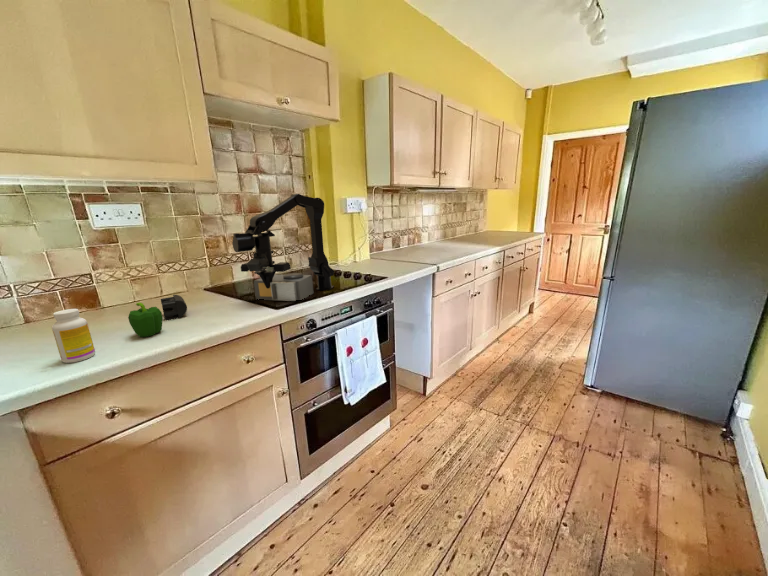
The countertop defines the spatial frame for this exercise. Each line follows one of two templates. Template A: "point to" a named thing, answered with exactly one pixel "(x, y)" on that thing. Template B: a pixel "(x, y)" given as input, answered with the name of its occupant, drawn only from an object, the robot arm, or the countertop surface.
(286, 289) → the side door
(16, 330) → the countertop surface
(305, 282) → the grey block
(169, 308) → the end cap
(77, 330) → the supplement bottle
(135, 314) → the bell pepper
